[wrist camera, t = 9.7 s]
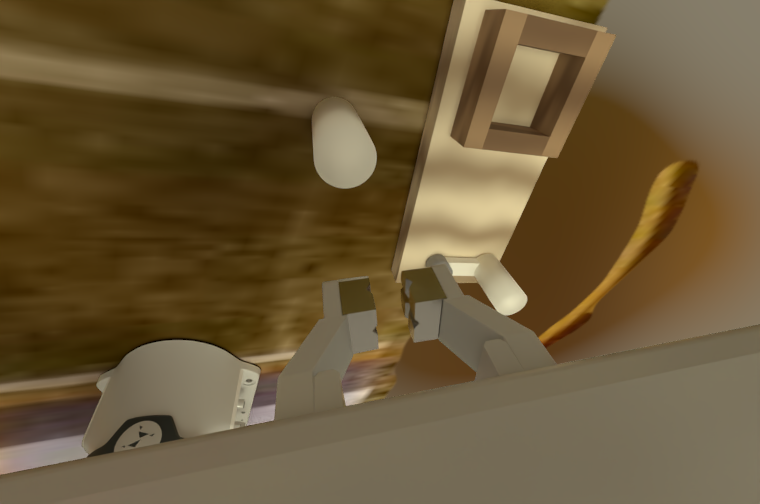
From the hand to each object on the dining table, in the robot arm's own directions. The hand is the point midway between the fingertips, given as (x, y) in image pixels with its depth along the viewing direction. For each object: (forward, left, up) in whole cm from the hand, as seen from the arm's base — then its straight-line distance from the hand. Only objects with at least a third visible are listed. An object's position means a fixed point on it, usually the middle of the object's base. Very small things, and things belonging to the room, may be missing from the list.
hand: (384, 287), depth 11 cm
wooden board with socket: (-3, -14, -21) cm, 25 cm away
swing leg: (-13, -15, -19) cm, 27 cm away
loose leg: (0, 0, -21) cm, 21 cm away
